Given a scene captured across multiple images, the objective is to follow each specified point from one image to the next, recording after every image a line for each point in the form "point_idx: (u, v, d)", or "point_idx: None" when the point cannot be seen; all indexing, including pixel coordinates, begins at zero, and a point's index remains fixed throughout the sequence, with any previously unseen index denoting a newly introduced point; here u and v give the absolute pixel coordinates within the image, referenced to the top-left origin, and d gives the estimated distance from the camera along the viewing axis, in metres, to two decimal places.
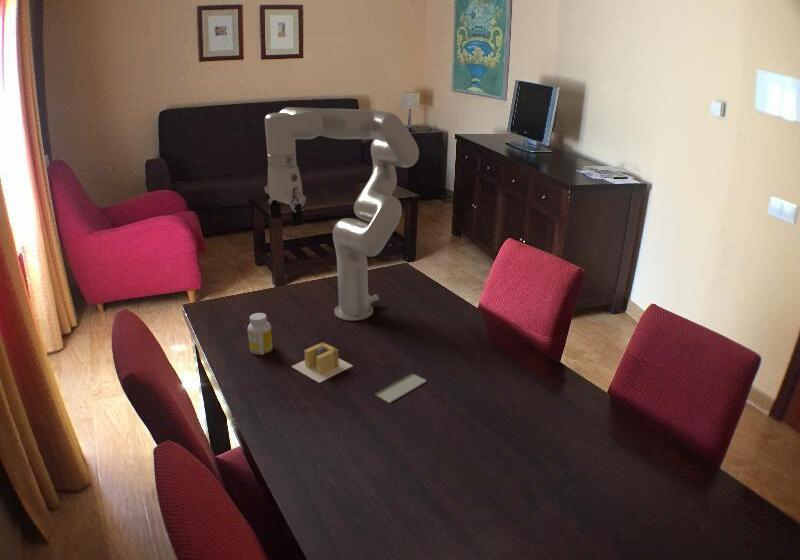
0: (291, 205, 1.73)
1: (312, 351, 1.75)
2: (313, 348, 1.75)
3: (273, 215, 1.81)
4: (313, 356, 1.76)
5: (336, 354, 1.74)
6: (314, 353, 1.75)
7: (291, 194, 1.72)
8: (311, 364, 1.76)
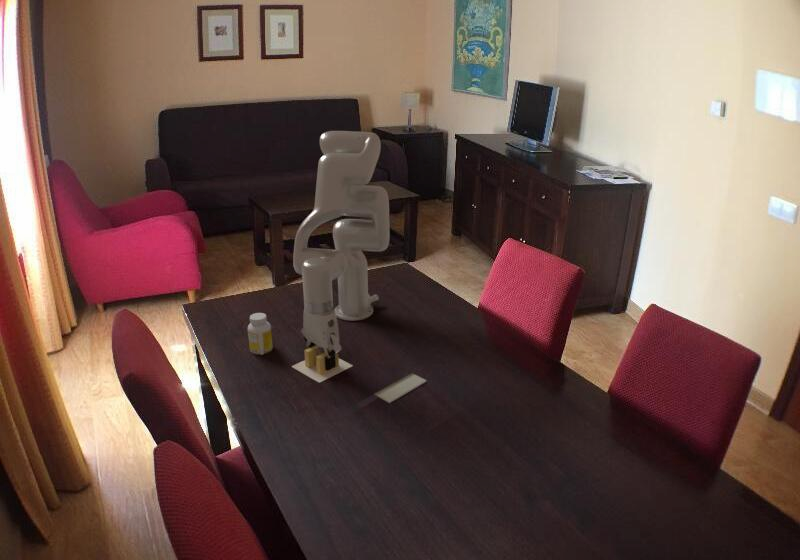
0: (325, 350, 1.70)
1: (312, 351, 1.75)
2: (313, 348, 1.75)
3: None
4: (313, 356, 1.76)
5: (336, 354, 1.74)
6: (314, 353, 1.75)
7: (328, 340, 1.68)
8: (311, 364, 1.76)
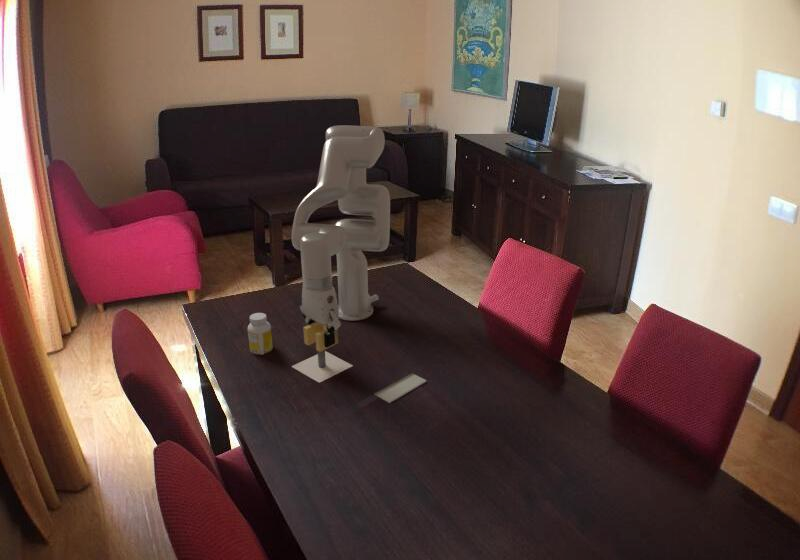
0: (325, 327, 1.68)
1: (311, 328, 1.72)
2: (312, 325, 1.73)
3: None
4: (313, 333, 1.73)
5: (335, 331, 1.72)
6: (314, 330, 1.73)
7: (327, 316, 1.66)
8: (310, 341, 1.73)
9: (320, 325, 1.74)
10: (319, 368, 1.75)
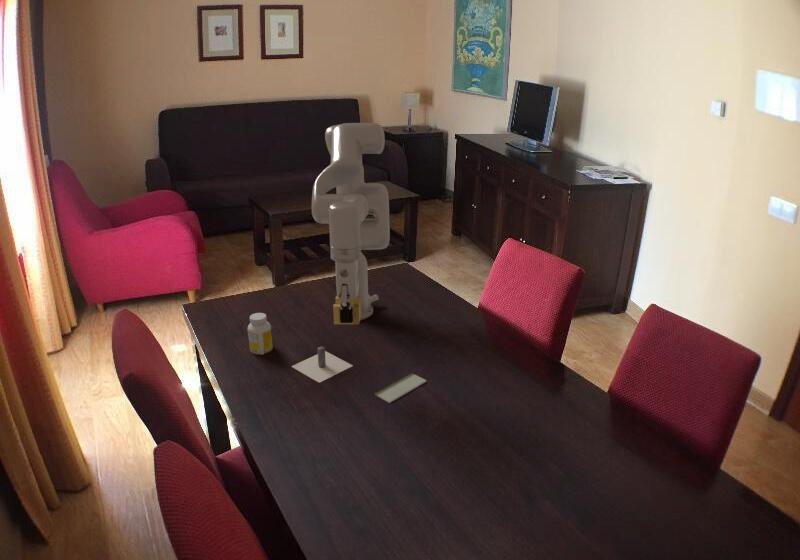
0: (340, 301, 1.61)
1: None
2: None
3: None
4: None
5: (356, 310, 1.63)
6: None
7: (339, 289, 1.59)
8: None
9: (353, 301, 1.67)
10: (319, 368, 1.75)
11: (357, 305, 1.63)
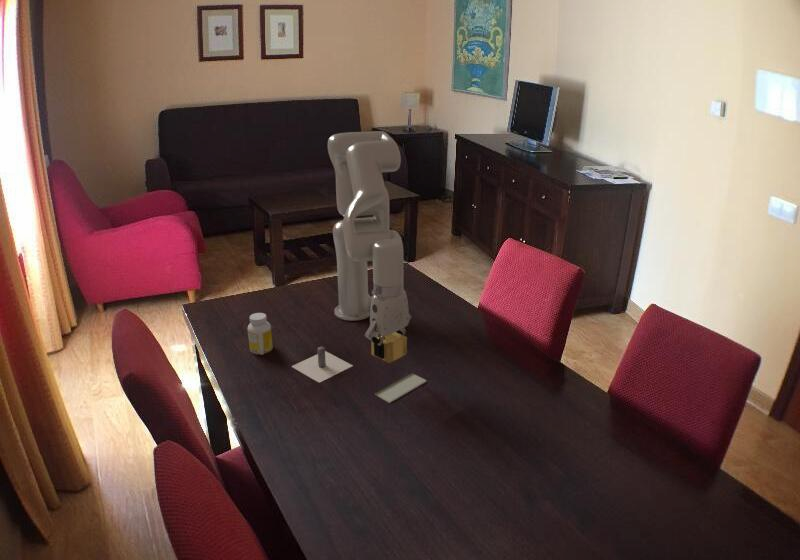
0: None
1: None
2: (392, 333, 1.67)
3: None
4: (390, 341, 1.68)
5: (387, 348, 1.62)
6: (391, 338, 1.67)
7: (370, 322, 1.61)
8: None
9: None
10: (319, 368, 1.75)
11: (390, 344, 1.62)
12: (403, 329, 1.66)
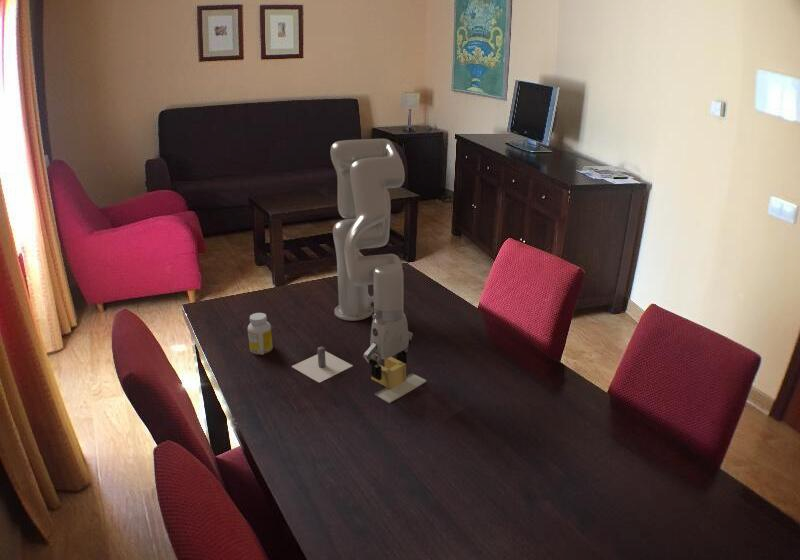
0: None
1: (388, 361, 1.71)
2: (392, 359, 1.71)
3: None
4: (389, 367, 1.71)
5: (386, 376, 1.65)
6: (390, 365, 1.71)
7: (371, 345, 1.63)
8: None
9: None
10: (319, 368, 1.75)
11: (389, 371, 1.65)
12: (405, 348, 1.69)
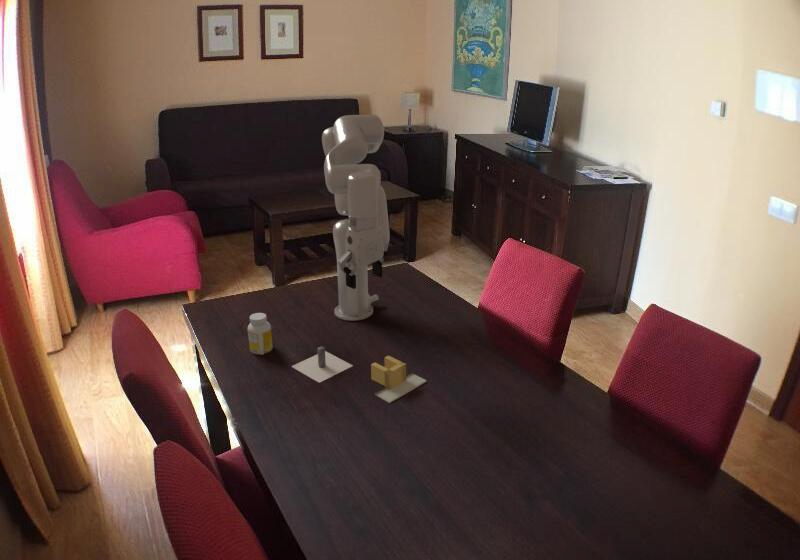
0: None
1: (388, 361, 1.71)
2: (392, 359, 1.71)
3: (373, 271, 1.74)
4: (389, 367, 1.71)
5: (386, 376, 1.65)
6: (390, 365, 1.71)
7: None
8: None
9: None
10: (319, 368, 1.75)
11: (389, 371, 1.65)
12: (381, 258, 1.71)
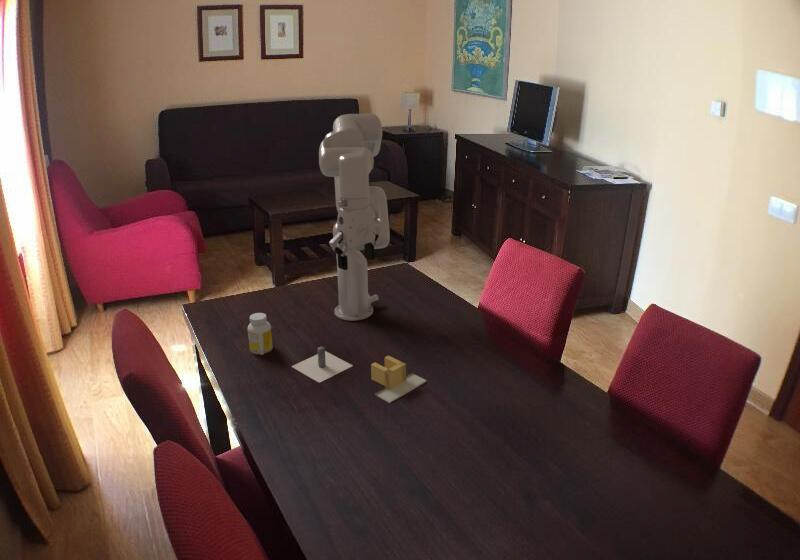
0: None
1: (388, 361, 1.71)
2: (392, 359, 1.71)
3: (365, 255, 1.76)
4: (389, 367, 1.71)
5: (386, 376, 1.65)
6: (390, 365, 1.71)
7: None
8: None
9: None
10: (319, 368, 1.75)
11: (389, 371, 1.65)
12: (373, 241, 1.73)
